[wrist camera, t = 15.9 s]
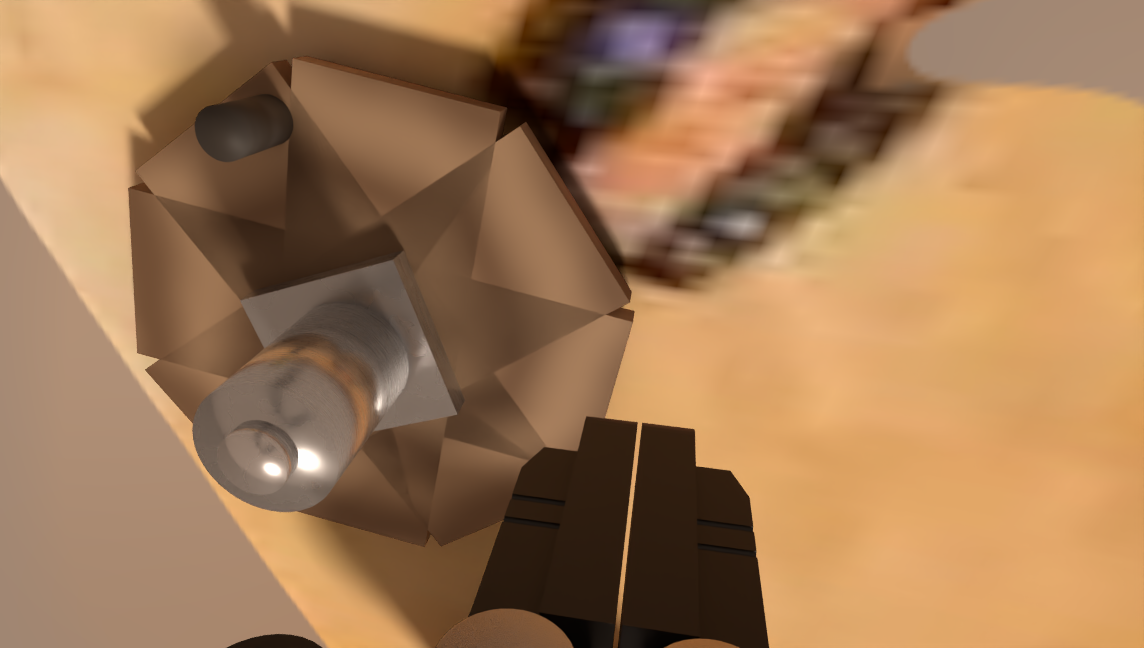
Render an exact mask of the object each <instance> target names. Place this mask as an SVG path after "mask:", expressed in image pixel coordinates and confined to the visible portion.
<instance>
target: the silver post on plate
mask: <svg viewBox="0 0 1144 648" xmlns="http://www.w3.org/2000/svg"><path fill="white" fill-rule="evenodd" d="M240 302H241V304H242V306H243V308H244V310H245V312H246V314H247V315H248V317H249V319H250V321H251V323H252V325H253V327H254V329H255V331H256V333H257V335H258V337H259V339H260V341H261V343H262V345H263V347H264V349H263V350H262V351H261V352H260V353H258V354H257V355H256V356H255V357H254V358H252V359H251V360H250V361H249V362H248V363H246V364H245V365H244V366H243V367H242V368H240V369H239V370H238V371H237V372H236V373H234V374H233V375H232V376H231V377H230V378H228V379H227V380H226V381H225V382H224V383H222V384H221V385H220V386H219V387H218V388H217V389H215V390H214V391H213V392H212V393H211V394H209V395H208V396H207V397H206V398H205V399H204V400H203V401H202V402H201V404H200V405H199V407H198V409H197V411H196V413H195V416H194V420H193V430H192V431H193V440H194V444H195V448H196V451H197V453H198V456H199V458H200V460H201V462H202V463H203V465H204V466H205V468H206V469H207V471H208V472H209V473H210V475H211V476H212V477H213V478H214V479H215V480H216V481H217V482H218V483H219V484H220V485H221V486H222V487H223V488H224V489H226V490H227V491H228V492H229V493H231V494H232V495H234V496H235V497H237V498H239V499H241V500H242V501H244V502H246V503H249V504H251V505H253V506H256V507H259V508H262V509H266V510H270V511H278V512H293V511H300V510H304V509H307V508H310V507H312V506H314V505H316V504H317V503H319V502H320V501H322V500H323V499H324V498H325V497H326V496H327V495H328V494H329V492H330V491H331V490H332V488H333V487H334V486H335V484H336V483H337V481H338V480H339V479H340V477H341V476H342V474H343V473H344V472H345V470H346V469H347V467H348V466H349V465H350V463H351V462H352V460H353V459H354V458H355V456H356V455H357V453H358V452H359V451H360V449H361V448H362V446H363V445H364V444H365V442H366V441H367V439H368V438H369V437H370V435H371V434H372V432H373V431H378V430H383V429H388V428H393V427H398V426H403V425H408V424H413V423H418V422H423V421H428V420H433V419H438V418H443V417H448V416H453V415H457V414H458V413H459V411H460V409H461V407H462V405H463V403H464V402H465V399H464V396H463V394H462V391H461V389H460V386H459V384H458V382H457V379H456V377H455V374H454V372H453V369H452V367H451V364H450V362H449V360H448V357H447V355H446V352H445V350H444V347H443V345H442V342H441V340H440V338H439V335H438V333H437V330H436V328H435V325H434V323H433V320H432V318H431V315H430V313H429V311H428V308H427V306H426V303H425V301H424V298H423V296H422V293H421V291H420V289H419V286H418V284H417V281H416V279H415V276H414V274H413V271H412V269H411V267H410V264H409V262H408V259H407V257H406V254H405V252H404V250H403V251H399V252H395V253H391V254H388V255H384V256H380V257H376V258H373V259H369V260H365V261H361V262H358V263H354V264H350V265H347V266H343V267H339V268H335V269H332V270H328V271H324V272H320V273H317V274H313V275H309V276H306V277H302V278H298V279H294V280H291V281H287V282H283V283H279V284H276V285H272V286H268V287H264V288H261V289H257V290H255V291H253V292H252V293H250V294H249V295H247V296H246V297H244V298H243V299H241V300H240Z"/></svg>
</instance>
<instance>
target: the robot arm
mask: <svg viewBox="0 0 1144 648" xmlns="http://www.w3.org/2000/svg"><path fill="white" fill-rule="evenodd" d="M637 424H638V422H630V421H622V420H614V419H606V418H598V417H590V416H586V419H585V423H584V427H583V431H582V435H581V439H580V444H579V448H578V451H572V450H564V449H557V448H549V447H544V448H542V449H541V450H540V451H539V452H538V453H537V454H536V455H535V456H534V457H532V458H531V459H530V460H529V461H528V462H527V463H526V464H525V465H524V466H522V467H521V470H520V473H519V476H518V479H517V482H516V484H515V487H514V490H513V493H512V499H510V502H509V504H508V507H507V510H506V513H505V516H504V522H502V524H501V527H500V530H499V533H498V536H497V538H496V541H495V544H494V547H493V550H492V553H491V556H490V558H489V561H488V564H487V567H486V570H485V573H484V575H483V578H482V581H481V584H480V587H479V590H478V593H477V595H476V598H475V601H474V604H473V607H472V609H471V612H470V614H469V616H468V618H466V619H464V620H462V621H461V622H459V623H458V624H456V625H455V626H454V627H452V628H451V629H450V630H449V631H448V632H447V633H446V634H445V635H444V636H443V637H442V638H441V640H440V641H439V642H438V644H437V646H436V647H435V648H613V640H614V631H615V622H616V613H617V604H618V595H619V586H620V577H621V569H622V560H623V551H624V542H625V533H626V524H627V515H628V506H629V496H630V487H631V478H632V469H633V460H634V451H635V442H636V433H637ZM227 648H322V647H321V646H319V645H317V644H316V643H315V642H313V641H311V640H308V639H306V638H303V637H299V636H294V635H286V634H274V635H263V636H259V637H254V638H250V639H247V640H244V641H241V642H238V643H236V644H233V645H231V646H229V647H227ZM618 648H769V644H768V636H767V628H766V621H765V613H764V605H763V598H762V590H761V582H760V575H759V567H758V559H757V558H756V544H755V536H754V532H753V521H752V513H751V506H750V498H749V496H748V495H747V493H746V492H745V491H744V489H743V488H742V486H741V485H740V484H739V482H738V481H737V479H736V478H735V477H734V475H733V474H732V472H731V471H728V470H720V469H712V468H705V467H697V466H696V458H695V430H694V429H688V428H680V427H672V426H664V425H656V424H648V423H642V430H641V439H640V447H639V456H638V465H637V474H636V483H635V492H634V500H633V509H632V518H631V527H630V536H629V546H628V555H627V565H626V574H625V584H624V593H623V603H622V613H621V622H620V632H619V642H618Z"/></svg>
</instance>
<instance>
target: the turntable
mask: <svg viewBox="0 0 1144 648" xmlns="http://www.w3.org/2000/svg"><path fill="white" fill-rule="evenodd" d="M506 112H507V107H503V106H499V105H495V104H491V103H487V102H483V101H479V100H476V99H472V98H468V97H464V96H460V95H456V94H452V93H448V92H444V91H441V90H437V89H433V88H429V87H425V86H421V85H417V84H413V83H410V82H406V81H402V80H398V79H394V78H390V77H386V76H382V75H378V74H375V73H371V72H367V71H363V70H359V69H355V68H351V67H347V66H343V65H340V64H336V63H332V62H328V61H324V60H320V59H316V58H312V57H309V56H304V57H298V58H292V67H291V66H290V64H289V63H288V61H287V60H283V61H276V62H271V63H270V64H269V65H267V66H266V67H265V68H264V69H262V70H261V71H260V72H259V73H257V74H256V75H255V76H254V77H252V78H251V79H250V80H249V81H247V82H246V83H245V84H244V85H242V86H241V87H240V88H239V89H237V90H236V91H235V92H233V93H232V94H231V95H230V96H228V97H227V98H226V99H225V100H223V101H222V102H221V103H220V104H216V105H212V106H208V107H206V108H204V109H202V110H201V111H200V112H199V114H198V116H197V118H196V121H195V124H193V125H192V126H191V127H190V128H188V129H187V130H186V131H185V132H183V133H182V134H181V135H180V136H178V137H177V138H176V139H175V140H173V141H172V142H171V143H170V144H168V145H167V146H166V147H165V148H163V149H162V150H161V151H160V152H158V153H157V154H156V155H155V156H153V157H152V158H151V159H150V160H148V161H147V162H146V163H145V164H143V165H142V166H141V167H140V168H138V169H137V170H136V171H135V172H136V173H137V174H138V175H139V177H140V178H141V179H142V180H143V181H144V183H141V184H138V185H135V186H133V187H130V188H128V191H129V209H130V228H131V246H132V265H133V283H134V301H135V320H136V338H137V353H139V354H142V355H146V356H150V357H153V358H157V359H160V360H158V361H157V362H155V363H154V364H153V365H151V366H150V367H148V368H147V369H145V370H146V372H147V373H148V374H149V375H150V376H151V377H152V378H153V379H154V381H155V382H156V383H157V384H158V385H159V386H160V387H161V388H162V389H163V391H164V392H165V393H166V394H167V395H168V396H169V397H170V398H171V400H172V401H173V402H174V403H175V404H176V405H177V406H178V407H179V409H180V410H181V411H182V412H183V413H184V414H185V415H186V416H187V417H188V419H189V420H190V421H191V422H192V423H193V420H194V416H195V413H196V411H197V409H198V407H199V405H200V404H201V402H202V401H203V400H204V399H205V398H206V397H207V396H208V395H209V394H211V393H212V392H213V391H214V390H215V389H217V388H218V387H219V386H220V385H221V384H222V383H224V382H225V381H226V380H227V379H228V378H230V377H231V376H232V375H233V374H234V373H236V372H237V371H238V370H239V369H240V368H242V367H243V366H244V365H245V364H246V363H248V362H249V361H250V360H251V359H252V358H254V357H255V356H256V355H257V354H258V353H260V352H261V351H262V350H263V349H264V347H263V345H262V343H261V341H260V339H259V337H258V335H257V333H256V331H255V329H254V327H253V325H252V323H251V321H250V319H249V317H248V315H247V314H246V312H245V310H244V308H243V306H242V304H241V302H240V300H241V299H243V298H244V297H246V296H247V295H249V294H250V293H252V292H253V291H255V290H257V289H261V288H264V287H268V286H272V285H276V284H279V283H283V282H287V281H291V280H294V279H298V278H302V277H306V276H309V275H313V274H317V273H320V272H324V271H328V270H332V269H335V268H339V267H343V266H347V265H350V264H354V263H358V262H361V261H365V260H369V259H373V258H376V257H380V256H384V255H388V254H391V253H395V252H399V251H403V250H404V252H405V254H406V257H407V259H408V262H409V264H410V267H411V269H412V271H413V274H414V276H415V279H416V281H417V284H418V286H419V289H420V291H421V293H422V296H423V298H424V301H425V303H426V306H427V308H428V311H429V313H430V315H431V318H432V320H433V323H434V325H435V328H436V330H437V333H438V335H439V338H440V340H441V342H442V345H443V347H444V350H445V352H446V355H447V357H448V360H449V362H450V364H451V367H452V369H453V372H454V374H455V377H456V379H457V382H458V384H459V386H460V389H461V391H462V394H463V396H464V399H465V402H464V403H463V405H462V407H461V409H460V411H459V413H458V414H457V415H453V416H448V417H443V418H438V419H433V420H428V421H423V422H418V423H413V424H408V425H403V426H398V427H393V428H388V429H383V430H378V431H373V432H372V434H371V435H370V437H369V438H368V439H367V441H366V442H365V444H364V445H363V446H362V448H361V449H360V451H359V452H358V453H357V455H356V456H355V458H354V459H353V460H352V462H351V463H350V465H349V466H348V467H347V469H346V470H345V472H344V473H343V474H342V476H341V477H340V479H339V480H338V481H337V483H336V484H335V486H334V487H333V488H332V490H331V491H330V492H329V494H328V495H327V496H326V497H325V498H324V499H323V500H322V501H320V502H319V503H317V504H316V505H314V506H312V507H310V508H307V509H304V510H300V511H298V512H301V513H305V514H308V515H312V516H316V517H319V518H323V519H326V520H330V521H333V522H337V523H341V524H344V525H348V526H351V527H355V528H359V529H362V530H366V531H369V532H373V533H376V534H380V535H384V536H387V537H391V538H394V539H398V540H401V541H405V542H409V543H412V544H416V545H419V546H423V547H425V545H426V543H427V541H428V539H429V537H430V535H432V536H433V537H434V538H435V539H436V541H437V542H438V543H439V544H440V546H443V545H445V544H448V543H450V542H452V541H455V540H457V539H459V538H462V537H464V536H466V535H469V534H471V533H473V532H476V531H478V530H481V529H483V528H485V527H488V526H490V525H492V524H495V523H497V522H499V521H502V520H504V516H505V513H506V510H507V507H508V504H509V502H510V499H512V493H513V490H514V487H515V484H516V482H517V479H518V476H519V473H520V470H521V467H522V466H524V465H525V464H526V463H527V462H528V461H529V460H530V459H531V458H532V457H534V456H535V455H536V454H537V453H538V452H539V451H540V450H541V449H542V448H544V447H549V448H557V449H564V450H572V451H578V448H579V444H580V439H581V435H582V431H583V427H584V423H585V419H586V416H590V417H598V418H605V416H606V412H607V409H608V405H609V402H610V398H611V395H612V392H613V388H614V385H615V381H616V378H617V375H618V371H619V368H620V364H621V361H622V357H623V354H624V351H625V347H626V344H627V340H628V337H629V333H630V330H631V327H632V323H633V318H634V311H632V310H628V309H624V308H621V307H622V306H624V305H626V304H628V303H630V299H631V293H632V292H631V290H630V288H629V287H628V285H627V284H626V282H625V280H624V279H623V277H622V276H621V274H620V272H619V271H618V269H617V267H616V266H615V264H614V263H613V261H612V259H611V258H610V256H609V255H608V253H607V251H606V250H605V248H604V246H603V245H602V243H601V242H600V240H599V238H598V237H597V235H596V234H595V232H594V230H593V229H592V227H591V226H590V224H589V222H588V221H587V219H586V217H585V216H584V214H583V213H582V211H581V209H580V208H579V206H578V205H577V203H576V201H575V200H574V198H573V197H572V195H571V193H570V192H569V190H568V188H567V187H566V185H565V184H564V182H563V180H562V179H561V177H560V176H559V174H558V172H557V171H556V169H555V167H554V166H553V164H552V163H551V161H550V159H549V158H548V156H547V155H546V153H545V151H544V150H543V148H542V147H541V145H540V143H539V142H538V140H537V138H536V137H535V135H534V134H533V132H532V130H531V129H530V127H529V126H528V124H527V122H525V123H523V124H522V125H520V126H519V127H517V128H516V129H514V130H513V131H511V132H510V133H508V134H506V135H505V136H503V137H502V135H503V129H504V124H505V118H506Z"/></svg>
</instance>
